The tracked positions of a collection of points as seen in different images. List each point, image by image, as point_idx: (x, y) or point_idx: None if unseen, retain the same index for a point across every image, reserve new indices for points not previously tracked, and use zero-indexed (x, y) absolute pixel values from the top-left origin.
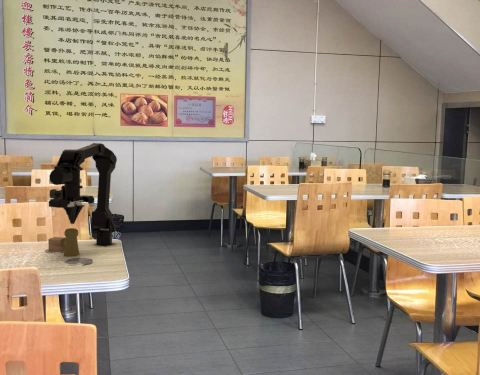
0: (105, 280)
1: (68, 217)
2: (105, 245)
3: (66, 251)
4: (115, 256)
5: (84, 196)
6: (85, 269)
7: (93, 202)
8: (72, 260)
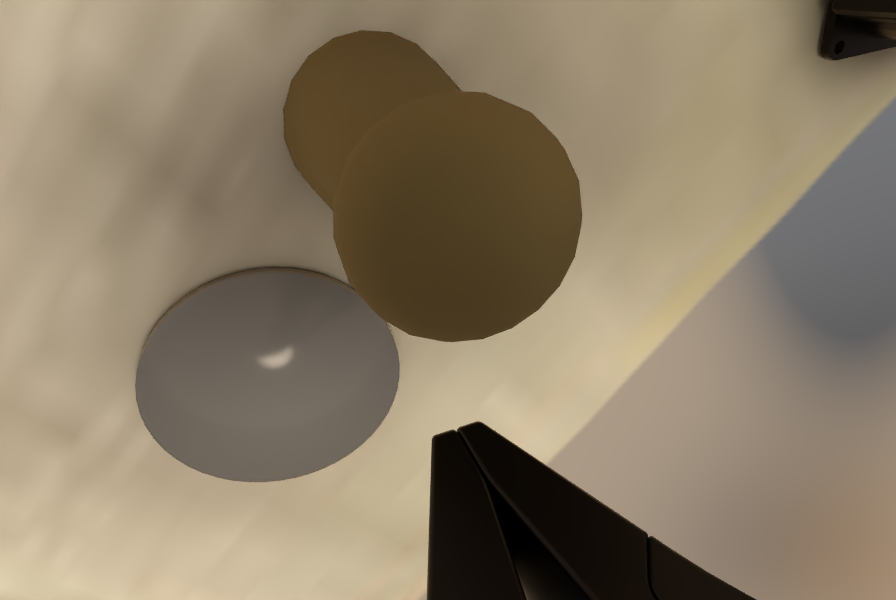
0: None
1: (429, 562)
2: (860, 25)
3: (302, 162)
4: (597, 373)
5: None
6: (195, 559)
7: None
8: (242, 339)
